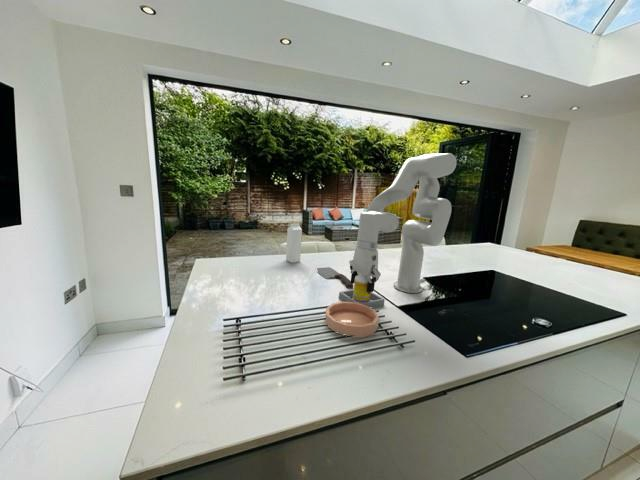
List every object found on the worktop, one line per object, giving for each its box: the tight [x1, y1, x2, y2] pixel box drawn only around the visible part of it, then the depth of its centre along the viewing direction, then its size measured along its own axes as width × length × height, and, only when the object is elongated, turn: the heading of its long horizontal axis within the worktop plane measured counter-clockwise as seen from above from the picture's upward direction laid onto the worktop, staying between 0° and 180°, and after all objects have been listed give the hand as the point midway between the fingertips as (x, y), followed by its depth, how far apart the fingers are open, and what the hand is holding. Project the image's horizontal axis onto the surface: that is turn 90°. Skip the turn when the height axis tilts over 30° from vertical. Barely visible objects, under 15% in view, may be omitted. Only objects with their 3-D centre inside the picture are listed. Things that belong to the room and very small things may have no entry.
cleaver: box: [317, 266, 354, 289], centre depth 132 cm, size 29×10×2 cm, turn 24°
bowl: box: [324, 301, 380, 338], centre depth 89 cm, size 17×17×4 cm
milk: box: [285, 222, 303, 264], centre depth 152 cm, size 6×6×22 cm
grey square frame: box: [338, 288, 385, 308], centre depth 106 cm, size 13×13×2 cm
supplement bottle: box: [352, 272, 371, 303], centre depth 105 cm, size 7×7×13 cm
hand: (361, 287), depth 105 cm, fingers open, 9 cm apart
